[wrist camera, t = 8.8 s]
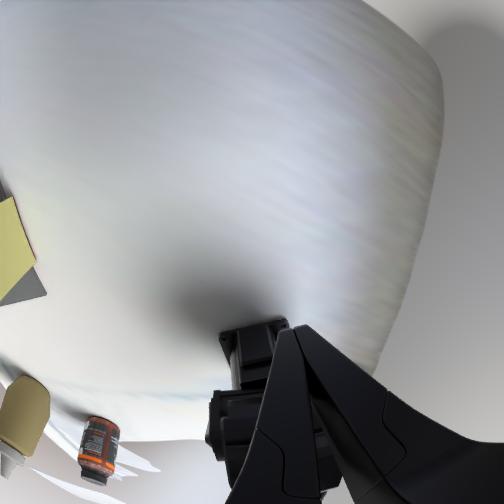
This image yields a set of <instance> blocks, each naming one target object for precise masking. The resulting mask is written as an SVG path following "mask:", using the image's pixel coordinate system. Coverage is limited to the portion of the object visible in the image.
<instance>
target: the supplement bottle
mask: <svg viewBox="0 0 504 504" xmlns="http://www.w3.org/2000/svg"><path fill="white" fill-rule="evenodd" d="M119 436H120V430H119V428H118V427H117V426H116V425H114V424H113V423H111V422H109V421H107V420H105V419H101V418H97V417H90V418H88V419H87V421H86V424H85V428H84V432H83V436H82V441H81V445H80V449H79V454H78V463H79V465H80V466H81V468H82V471H81V478H82V479H84V480H86V481H88V482H91V483H94V484H97V485H101V486H106V482H107V479H106V478H108V477H109V476H111V475H113V474H114V469H115V462H116V455H117V449H118V442H119Z"/></svg>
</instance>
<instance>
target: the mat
mask: <svg viewBox="0 0 504 504" xmlns="http://www.w3.org/2000/svg"><path fill="white" fill-rule="evenodd" d="M4 200H6V199H5V195H4V192H3V189H2V185H1V182H0V203H1V202H3V201H4ZM46 294H47V293H46V291H45V289H44V288H43V286H42V284H41V282H40V280H39V278H38V276H37V274H36V272H35V270H34V268H33V266H32V267H31V268H30V269H29V270H28V271H27V272H26V273H25V274H24V275H23V277H22V278H21V279H20V280H19V281H18V282H17V283H16V284H15V285H14V286H13V287H12V288H11V290H10V291H9V292H8V293H7V294H6V295H5V296H4V298H3V299H2V300H1V301H0V307H1V306H5V305H9V304H13V303H17V302H21V301H25V300H29V299H33V298H38V297H42V296H46Z"/></svg>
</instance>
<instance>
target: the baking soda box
mask: <svg viewBox="0 0 504 504" xmlns="http://www.w3.org/2000/svg"><path fill="white" fill-rule="evenodd" d="M35 263H36V260H35V258H34V255H33V253H32V251H31V248H30V246H29V243H28V241H27V238H26V236H25V233H24V230H23V227H22V225H21V222H20V219H19V216H18V213H17V210H16V206H15V203H14V200H13V196H12V197H10V198H8V199H6V200H4V201H3V202H1V203H0V301H1V300H2V299H3V298H4V296H5V295H6V294H7V293H8V292H9V291H10V290H11V288H12V287H13V286H14V285H15V284H16V283H17V282H18V281H19V280H20V279H21V278H22V277H23V275H24V274H25V273H26V272H27V271H28V270H29V269H30V268H31V267H32V266H33V265H34V264H35Z"/></svg>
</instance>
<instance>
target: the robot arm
mask: <svg viewBox="0 0 504 504" xmlns="http://www.w3.org/2000/svg"><path fill="white" fill-rule="evenodd" d="M282 324H284V325H282ZM222 337H226V338H222ZM219 341H220V344H221V346H222V349H223V351H224V353H225V356H226V358H227V361H228V363H229V365H230V368H231V379H232V390H227V391H221V390H214V393H213V398H211V402H210V403H209V422H208V426H207V430H206V434H205V441H206V443H207V444H208V445H209V446H210V447H212V449H213V452H214V453H215V456H216V459H217V461H225V464H226V470H227V476H228V481H229V485H230V487H231V489H232V491H231V492H230V494H229V496H228V499H227V500H226V502H225V504H322V502H321V501H322V500H323V498H324V496H325V495H326V493H327V491H328V490H332V489H335V488H337V487H338V486H339V483H340V481H341V478H342V476H343V478H344V480H345V483H346V485H347V487H348V490H349V492H350V494H351V497H352V499H353V501H354V502H355V504H504V443H491V442H479V441H475V440H471V439H468V438H466V437H464V436H461V435H459V434H458V433H456V432H454V431H452V430H450V429H448V428H446V427H444V426H443V425H441V424H439V423H437V422H435V421H433V420H432V419H430V418H428V417H427V416H425V415H423V414H422V413H420V412H418V411H417V410H415V409H413V408H412V407H411V406H409V405H408V404H406V403H405V402H404V401H402V400H401V399H399V398H398V397H397V396H395V395H394V394H393V393H392V392H391V391H387V389H386V388H385V387H384V386H383V385H381V384H380V383H379V382H377V381H376V380H375V379H374V378H373V377H371V376H370V375H369V374H368V373H366V372H365V371H364V370H362V369H361V368H360V367H359V366H357V365H356V364H355V363H354V362H352V361H351V360H350V359H349V358H348V357H346V356H345V355H344V354H343V353H341V352H340V351H339V350H338V349H336V348H335V347H334V346H333V345H331V344H330V343H329V342H328V341H327V340H325V339H324V338H323V337H322V336H320V335H319V334H318V333H317V332H316V331H314V330H313V329H312V328H311V327H309V326H308V325H306V324H305V325H301V326H297V327H294V329H292V328H289V324H288V321H287V320H286V319H281V320H277V321H273V322H268V323H264V324H260V325H255V326H250V327H246V328H241V329H236V330H231V331H226V332H222V333H220V334H219Z"/></svg>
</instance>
